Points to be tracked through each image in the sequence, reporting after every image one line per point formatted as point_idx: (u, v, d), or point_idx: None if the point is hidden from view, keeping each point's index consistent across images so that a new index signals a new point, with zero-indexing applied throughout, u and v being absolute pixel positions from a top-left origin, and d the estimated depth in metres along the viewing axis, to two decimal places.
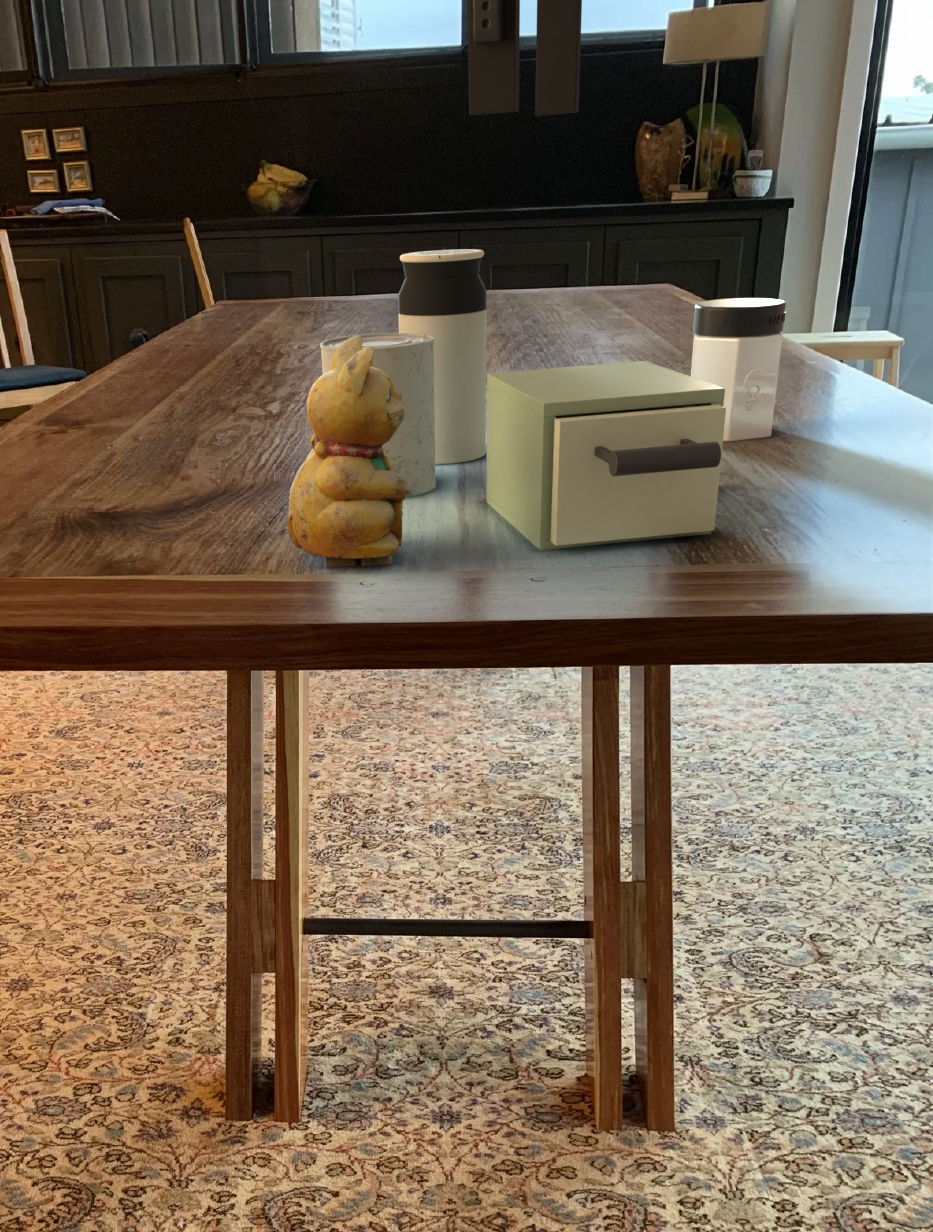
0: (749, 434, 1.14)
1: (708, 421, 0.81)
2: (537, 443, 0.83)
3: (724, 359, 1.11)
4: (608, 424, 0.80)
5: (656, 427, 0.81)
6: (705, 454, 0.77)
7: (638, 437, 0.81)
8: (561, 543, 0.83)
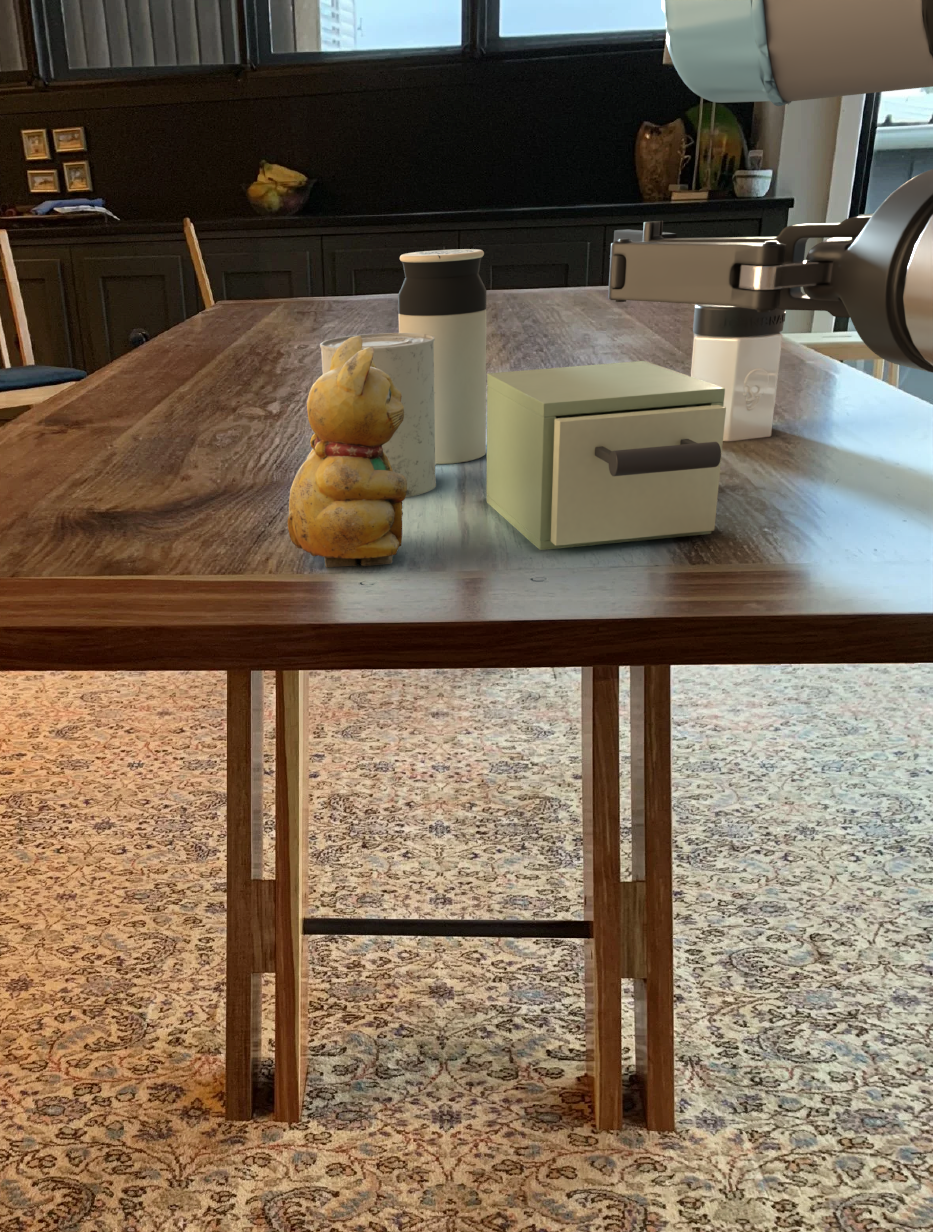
0: (749, 434, 1.14)
1: (708, 421, 0.81)
2: (537, 443, 0.83)
3: (724, 359, 1.11)
4: (608, 424, 0.80)
5: (656, 427, 0.81)
6: (705, 454, 0.77)
7: (638, 437, 0.81)
8: (561, 543, 0.83)
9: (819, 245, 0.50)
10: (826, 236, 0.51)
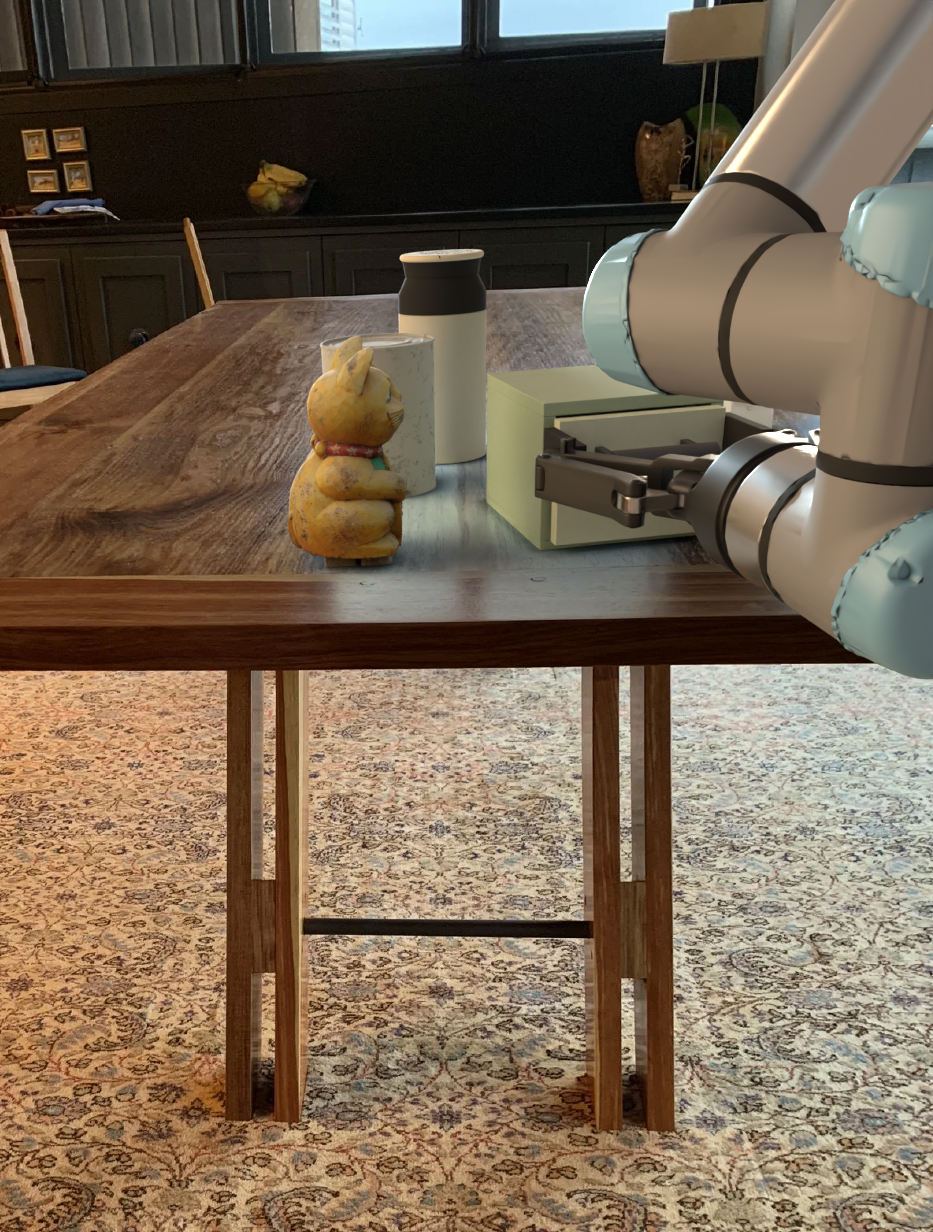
0: None
1: (708, 421, 0.81)
2: (537, 443, 0.83)
3: None
4: (608, 424, 0.80)
5: (656, 427, 0.81)
6: (704, 454, 0.77)
7: (638, 437, 0.81)
8: (561, 543, 0.83)
9: (675, 480, 0.67)
10: (683, 468, 0.68)
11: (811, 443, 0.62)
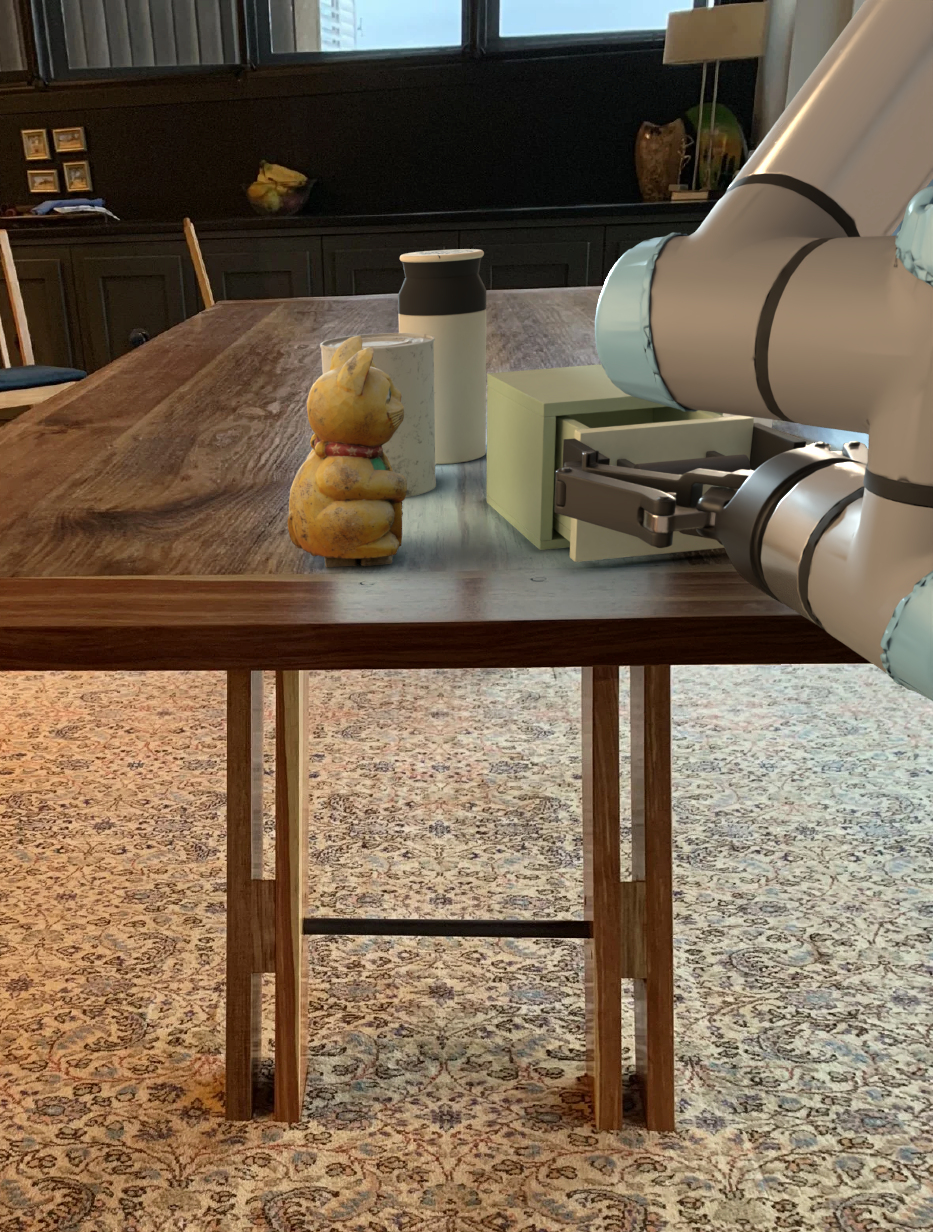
0: None
1: (736, 432, 0.77)
2: (537, 443, 0.83)
3: None
4: (631, 435, 0.76)
5: (681, 438, 0.77)
6: (733, 468, 0.73)
7: (661, 449, 0.77)
8: (581, 559, 0.80)
9: (705, 497, 0.63)
10: (714, 484, 0.65)
11: (853, 459, 0.58)
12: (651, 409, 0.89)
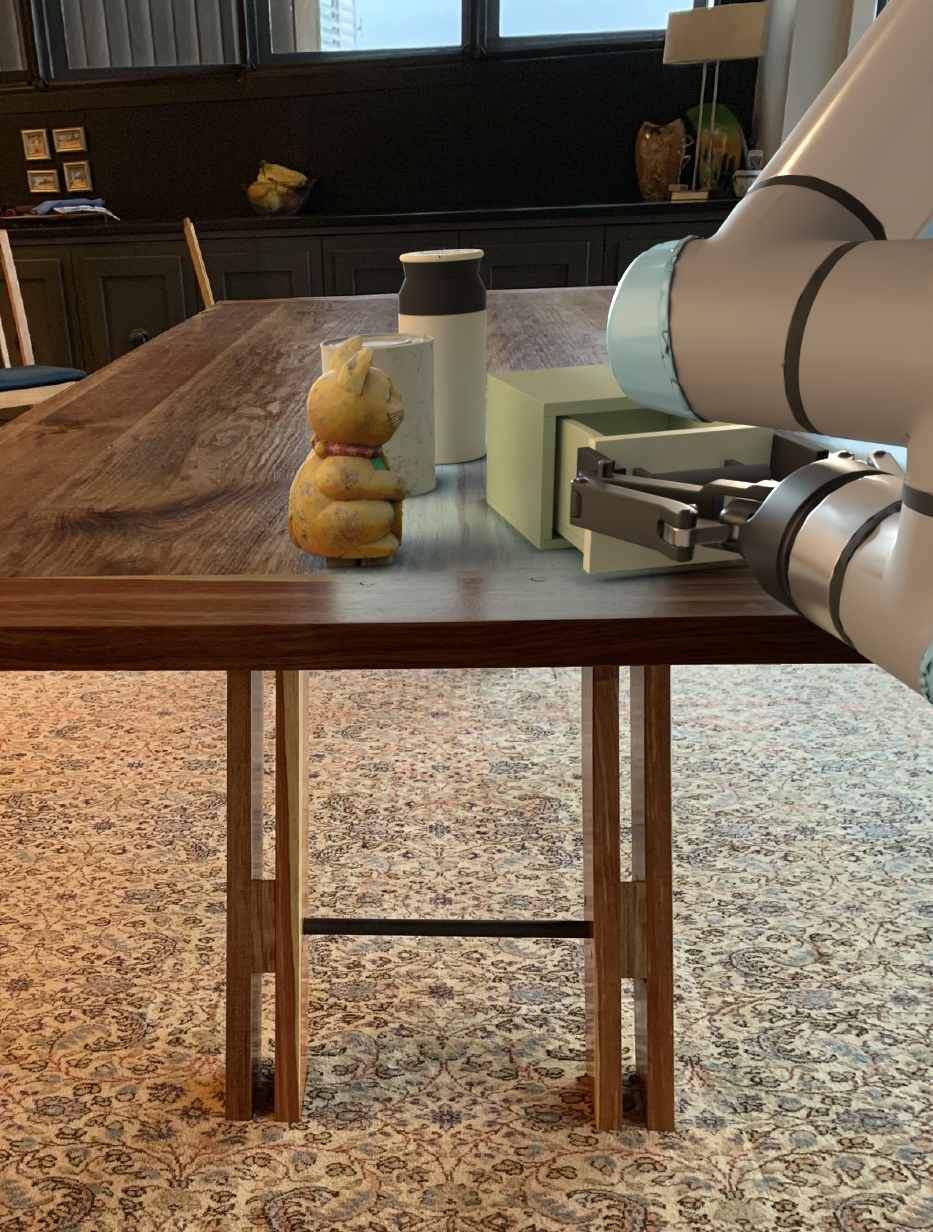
0: None
1: (755, 440, 0.75)
2: (537, 443, 0.83)
3: None
4: (647, 444, 0.74)
5: (699, 447, 0.74)
6: (753, 477, 0.71)
7: (679, 457, 0.75)
8: (595, 571, 0.77)
9: (728, 510, 0.61)
10: (736, 496, 0.62)
11: (884, 471, 0.56)
12: (666, 415, 0.86)
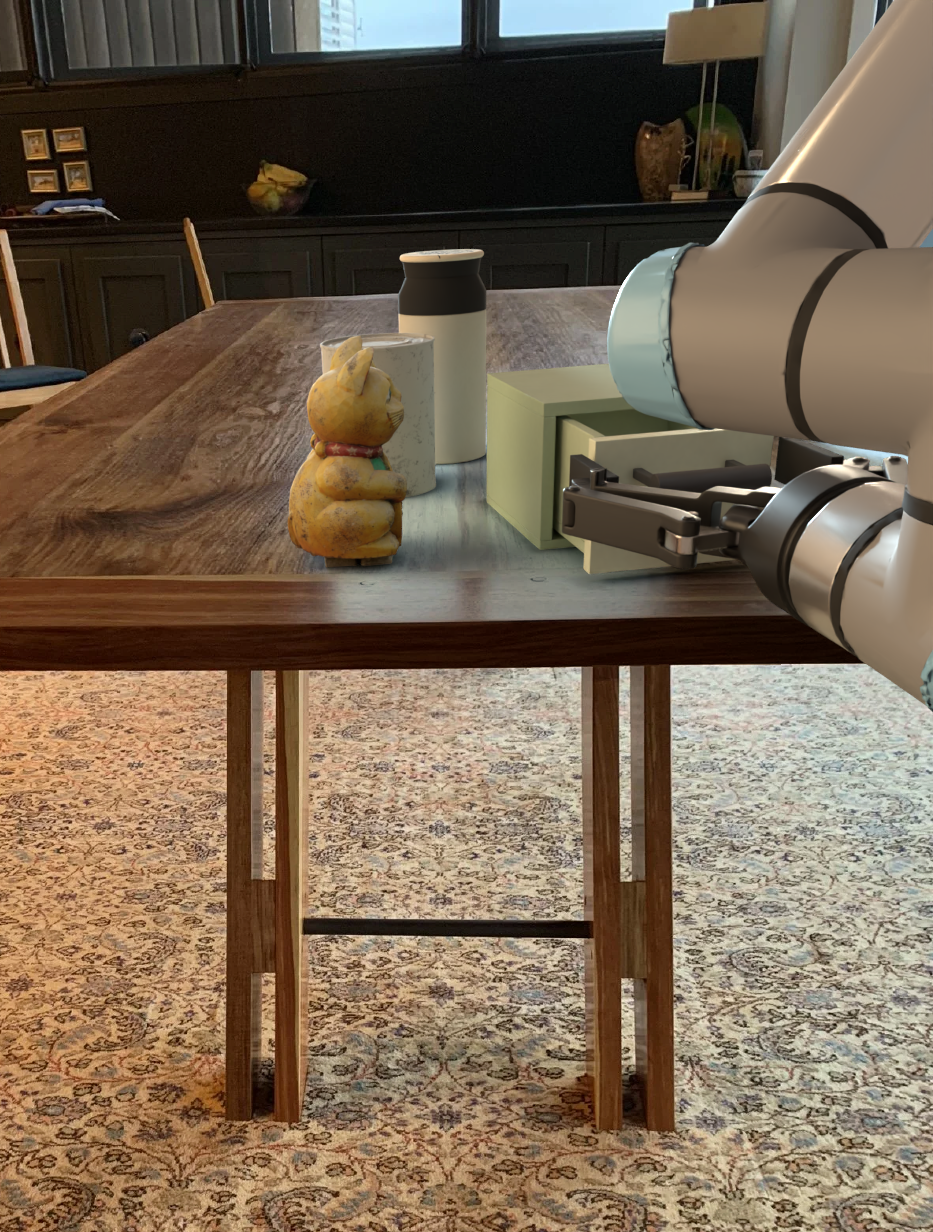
0: None
1: (756, 440, 0.75)
2: (537, 443, 0.83)
3: None
4: (647, 444, 0.74)
5: (699, 447, 0.74)
6: (754, 477, 0.71)
7: (679, 458, 0.75)
8: (595, 571, 0.77)
9: (729, 516, 0.61)
10: (736, 502, 0.62)
11: (884, 478, 0.56)
12: None
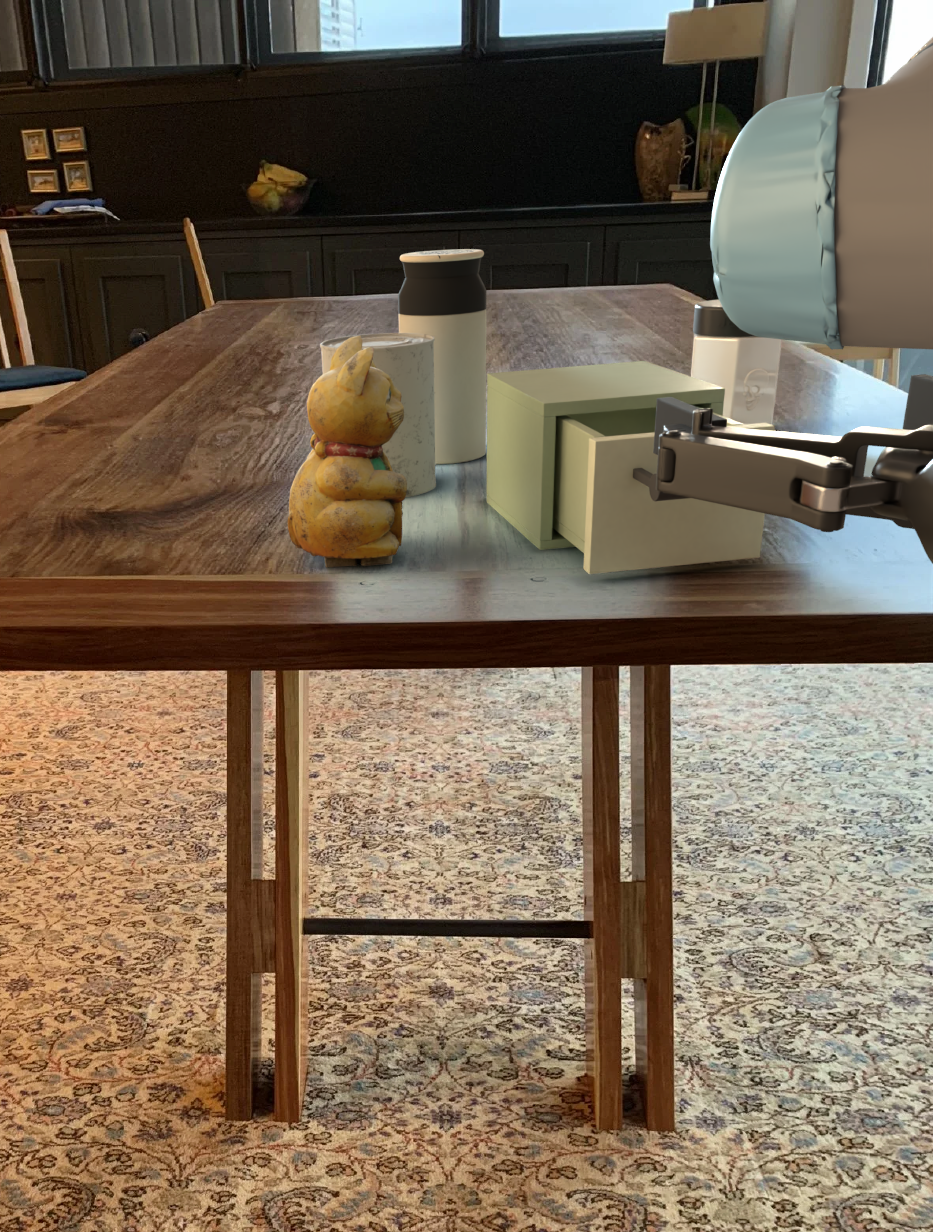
0: None
1: None
2: (537, 443, 0.83)
3: (724, 359, 1.11)
4: (647, 444, 0.74)
5: None
6: None
7: None
8: (595, 571, 0.77)
9: (886, 462, 0.47)
10: (892, 446, 0.48)
11: None
12: None
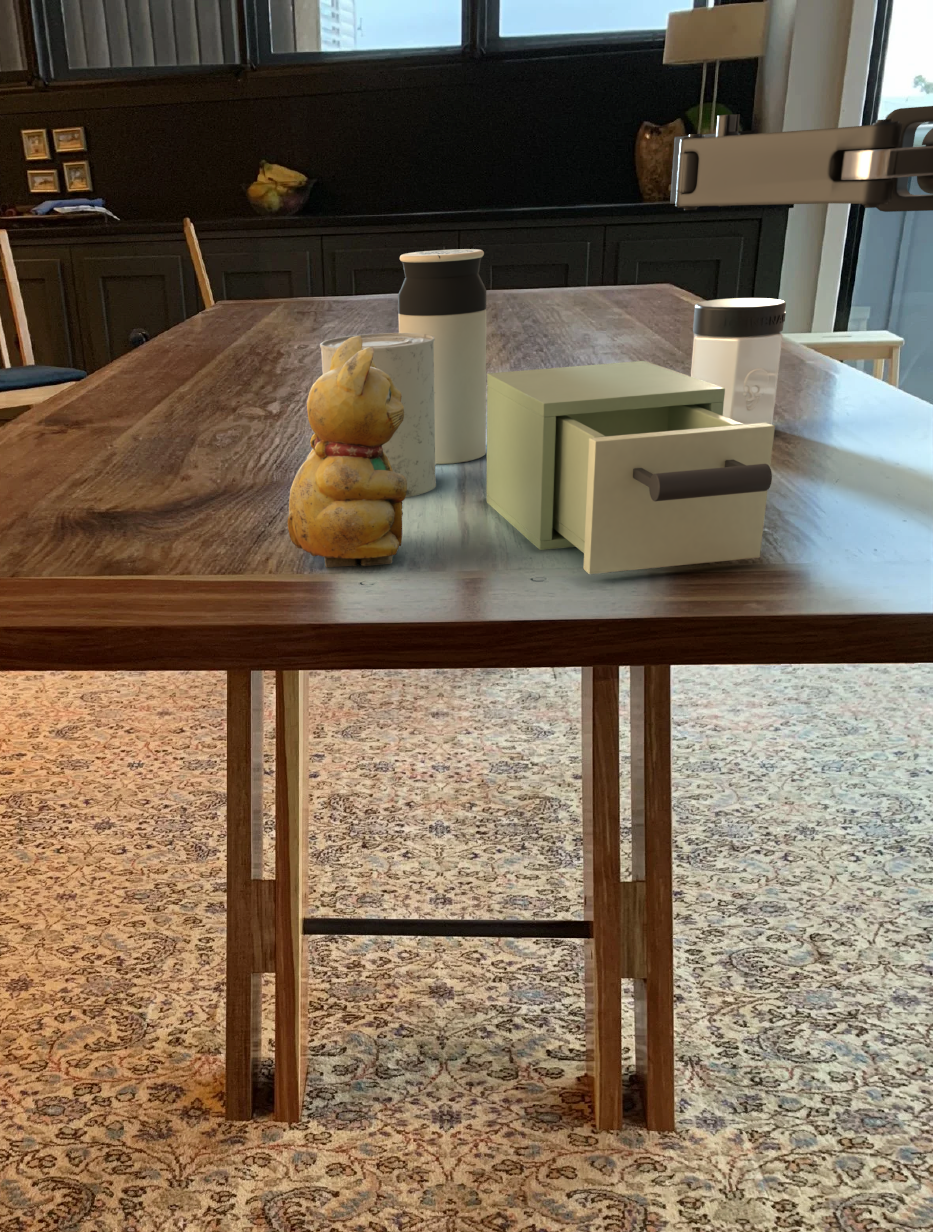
0: None
1: (756, 440, 0.75)
2: (537, 443, 0.83)
3: (724, 359, 1.11)
4: (647, 444, 0.74)
5: (699, 447, 0.74)
6: (754, 477, 0.71)
7: (679, 458, 0.75)
8: (595, 571, 0.77)
9: None
10: None
11: None
12: (666, 415, 0.86)
